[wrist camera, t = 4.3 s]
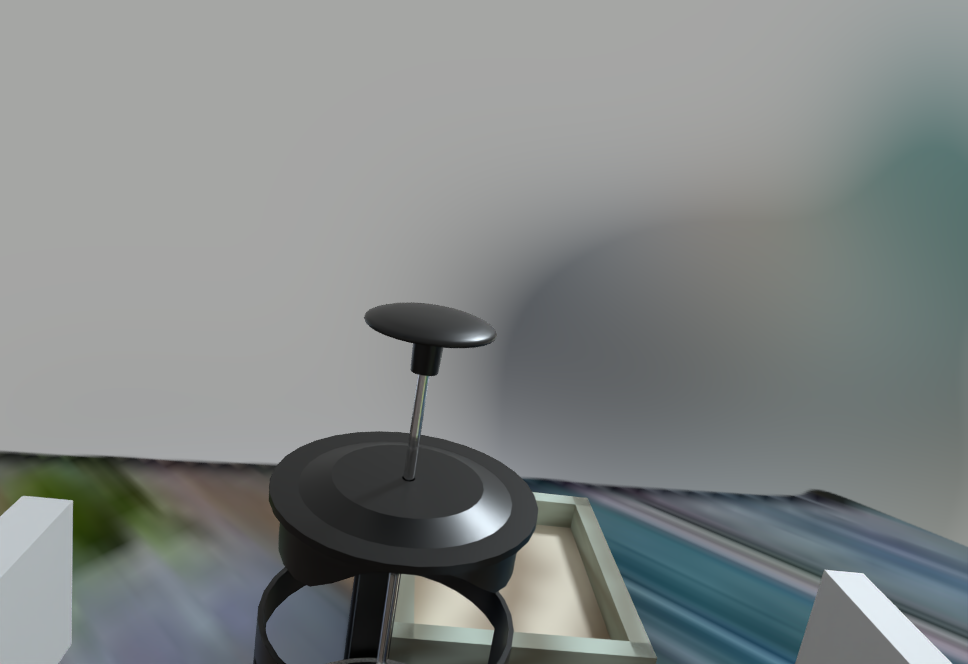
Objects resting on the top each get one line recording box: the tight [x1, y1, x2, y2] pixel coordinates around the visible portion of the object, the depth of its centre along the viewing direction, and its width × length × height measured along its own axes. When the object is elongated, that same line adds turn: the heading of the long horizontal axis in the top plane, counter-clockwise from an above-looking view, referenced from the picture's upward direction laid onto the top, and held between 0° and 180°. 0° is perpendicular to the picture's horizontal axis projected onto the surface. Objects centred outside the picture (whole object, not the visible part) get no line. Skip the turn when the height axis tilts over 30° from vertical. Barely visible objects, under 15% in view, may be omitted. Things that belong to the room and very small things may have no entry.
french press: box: [253, 303, 538, 664], centre depth 26 cm, size 12×9×23 cm
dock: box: [389, 492, 657, 664], centre depth 47 cm, size 16×18×3 cm
